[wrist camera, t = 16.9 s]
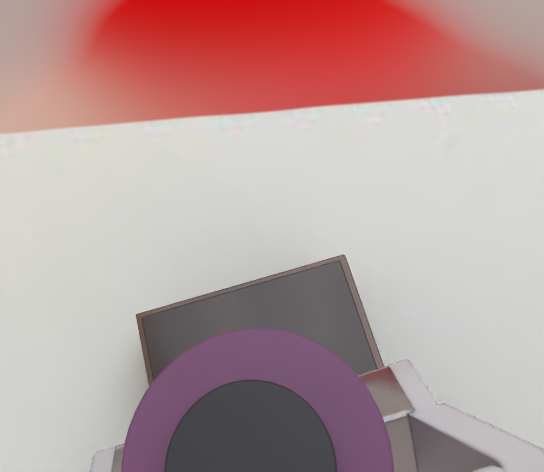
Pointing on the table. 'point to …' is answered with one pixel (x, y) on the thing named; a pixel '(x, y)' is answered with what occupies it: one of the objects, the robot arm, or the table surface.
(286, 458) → the lotion bottle
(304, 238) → the table surface
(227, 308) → the flat rectangular box
